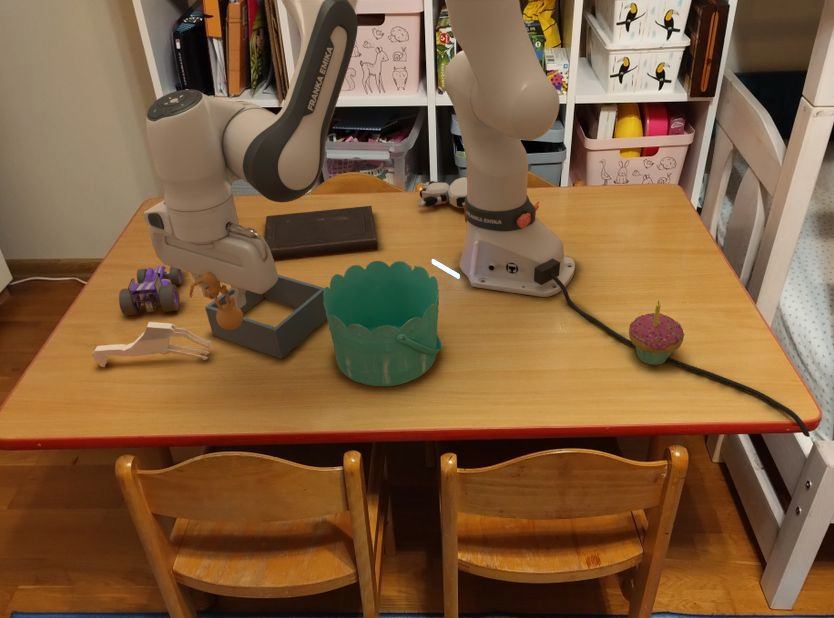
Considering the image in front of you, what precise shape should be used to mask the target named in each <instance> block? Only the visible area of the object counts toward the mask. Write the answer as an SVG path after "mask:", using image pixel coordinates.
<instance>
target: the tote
mask: <svg viewBox="0 0 834 618" xmlns="http://www.w3.org/2000/svg"><path fill="white" fill-rule="evenodd" d="M324 288H325V287H322V286H318V285H315V284H312V283H310V282H309V283H308V282H306V281H301V280H298V279H295V278H291V277H288V276H284V275H281V274H278V281H277V282H276V284H275V285H274V286H273V287H272V288H270V289H269V290H268V291H266V292H265V293H263V294H258V293H255V292H251V291H248V290H246V293H245V298H246V304H245V305H244V306H243V307H241V308H240V309H241V311H242V313H243V315H245V313H247V312H248V311H249V310H251V309H252V308H253V307H254V306H256V305H258V303H259V302H261V301H262V300H263V299H266V300H269V301H272V302H275V303H279V304H282V305H285V306H288V307H291V308H293V309H295V310H294V311H293V312H291V313H290V314H289V315H288V316H287V317H286V318H284V319H283V320H282V321H281V322H280V323H279V324H277V325H276V326H272V325H269V324H267V323H263V322H261V321H257V320H255V319H251V318H248V317H245V316H243V321H242V323H241V325H240V326H239V327H238V328H236V329H233V330H226V329H224V328H222V327H221V326H220V325H219V324H218V323H217V320H216V313H217V311H218V309H219V308H218V306H217V304H215V302H214V300H213V301H211V302H210V303H209V304H207V305H206V306H204V309H205V312H206V316H207V319H208V322H209V327H210V329H211V334H212V335H213V336H215V337H218V338H221V339H223V340H226V341H228V342H231V343H235V344H238V345H239V346H242V347H245V348H249V349H252V350H255V351H257V352H260V353H262V354H265V355H268V356H271V357H274V358H277V359H280V360H282V359H284V358H285V357H286V356H287V355H288V354H289V353H291V352H292V351H293V350H294V349H295V348H296V347H297V346H298V345H299V344H301V343H302V342H303V341H304V340H305V339H306V338H307V337H308V336H309V335H311V334H312V333H313V332H314V331H315V330H316V329H317V328H318V327H320V325H322V324H323V323H324V322H325V321H327V316H326V311H325V307H324V302H323V301H324V296H323V292H324ZM228 290H229V297H230V296H231V295H233V294H234V292H235V290H232V289H231V287H230V288H229V289H228ZM225 297H226V294H222V293H221V295H218V296H217V298H218V299H219V304H220V305H221V306H223V305H225V304H227V303H226V301H225ZM229 303H231V302H230V301H229Z"/></svg>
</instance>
